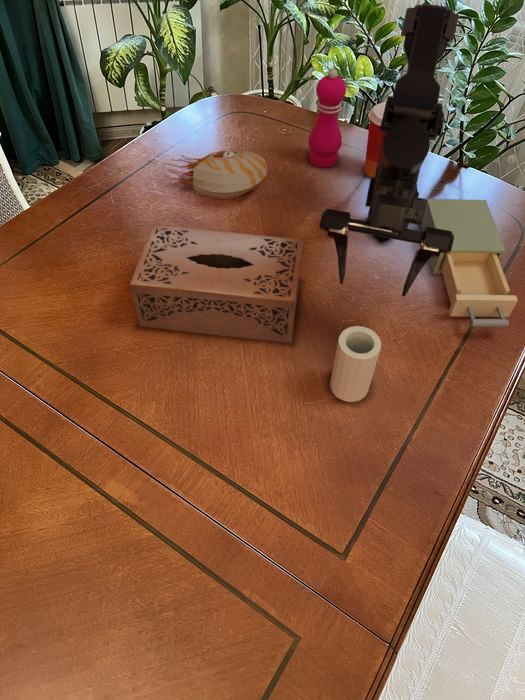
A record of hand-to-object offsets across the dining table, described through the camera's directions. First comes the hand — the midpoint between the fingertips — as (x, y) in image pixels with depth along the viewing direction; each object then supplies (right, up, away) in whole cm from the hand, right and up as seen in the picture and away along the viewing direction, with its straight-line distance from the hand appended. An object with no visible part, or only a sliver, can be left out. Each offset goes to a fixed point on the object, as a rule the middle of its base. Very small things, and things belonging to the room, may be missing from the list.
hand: (372, 289), depth 84 cm
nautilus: (-26, +26, +37) cm, 52 cm away
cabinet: (+21, +11, +26) cm, 35 cm away
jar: (-3, -14, +6) cm, 16 cm away
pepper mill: (-3, +34, +43) cm, 55 cm away
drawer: (+21, 0, +17) cm, 27 cm away
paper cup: (+9, +30, +41) cm, 52 cm away
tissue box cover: (-23, -1, +16) cm, 28 cm away
